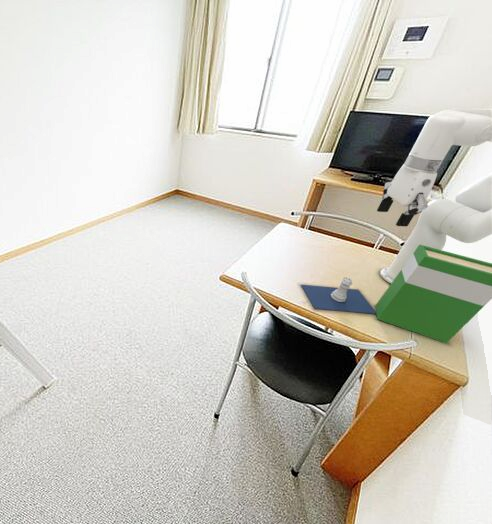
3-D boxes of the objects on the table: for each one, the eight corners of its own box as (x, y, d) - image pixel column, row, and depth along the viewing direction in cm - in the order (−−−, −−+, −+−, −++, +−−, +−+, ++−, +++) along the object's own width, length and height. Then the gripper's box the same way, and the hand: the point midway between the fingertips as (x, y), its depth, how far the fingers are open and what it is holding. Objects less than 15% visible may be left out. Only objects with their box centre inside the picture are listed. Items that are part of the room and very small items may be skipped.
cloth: (357, 290, 107) (358, 289, 107) (377, 314, 97) (377, 313, 97) (301, 285, 107) (301, 284, 107) (314, 308, 98) (314, 307, 97)
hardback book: (440, 327, 94) (499, 265, 80) (446, 343, 88) (510, 279, 75) (375, 305, 100) (419, 244, 86) (377, 319, 95) (424, 256, 81)
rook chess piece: (331, 300, 101) (341, 282, 96) (329, 292, 104) (339, 274, 100) (346, 304, 100) (357, 285, 95) (343, 296, 103) (354, 277, 99)
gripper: (460, 174, 77) (422, 232, 87) (414, 155, 91) (386, 207, 101) (430, 173, 77) (396, 231, 87) (389, 154, 91) (363, 206, 101)
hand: (391, 218), depth 94 cm, fingers open, 9 cm apart
